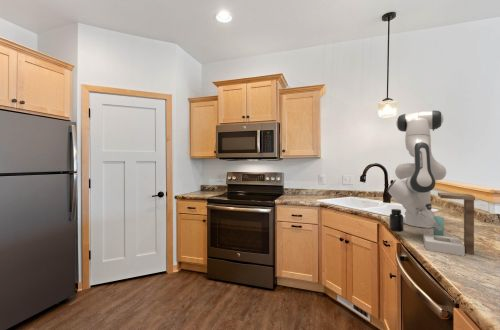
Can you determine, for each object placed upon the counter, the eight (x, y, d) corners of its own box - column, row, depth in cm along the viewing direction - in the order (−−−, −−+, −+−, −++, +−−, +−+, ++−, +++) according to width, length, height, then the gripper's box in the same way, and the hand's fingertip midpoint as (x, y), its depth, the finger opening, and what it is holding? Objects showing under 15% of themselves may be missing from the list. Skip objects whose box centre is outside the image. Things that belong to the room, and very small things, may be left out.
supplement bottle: (398, 228, 138) (398, 208, 138) (406, 231, 131) (406, 210, 131) (387, 228, 138) (387, 208, 138) (394, 231, 131) (394, 210, 131)
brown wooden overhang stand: (437, 244, 110) (437, 192, 110) (469, 249, 104) (469, 194, 104) (441, 251, 102) (440, 194, 102) (475, 256, 96) (475, 196, 96)
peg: (433, 239, 118) (433, 215, 118) (443, 240, 116) (443, 216, 116) (434, 241, 115) (434, 217, 115) (444, 242, 113) (444, 218, 113)
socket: (423, 241, 115) (423, 233, 115) (458, 246, 108) (458, 238, 108) (425, 249, 104) (425, 240, 104) (464, 256, 97) (464, 246, 97)
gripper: (423, 206, 111) (449, 229, 105) (420, 200, 128) (442, 220, 122) (411, 214, 113) (437, 237, 108) (410, 207, 130) (432, 227, 125)
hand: (440, 228), depth 115 cm, fingers closed on peg, 4 cm apart
